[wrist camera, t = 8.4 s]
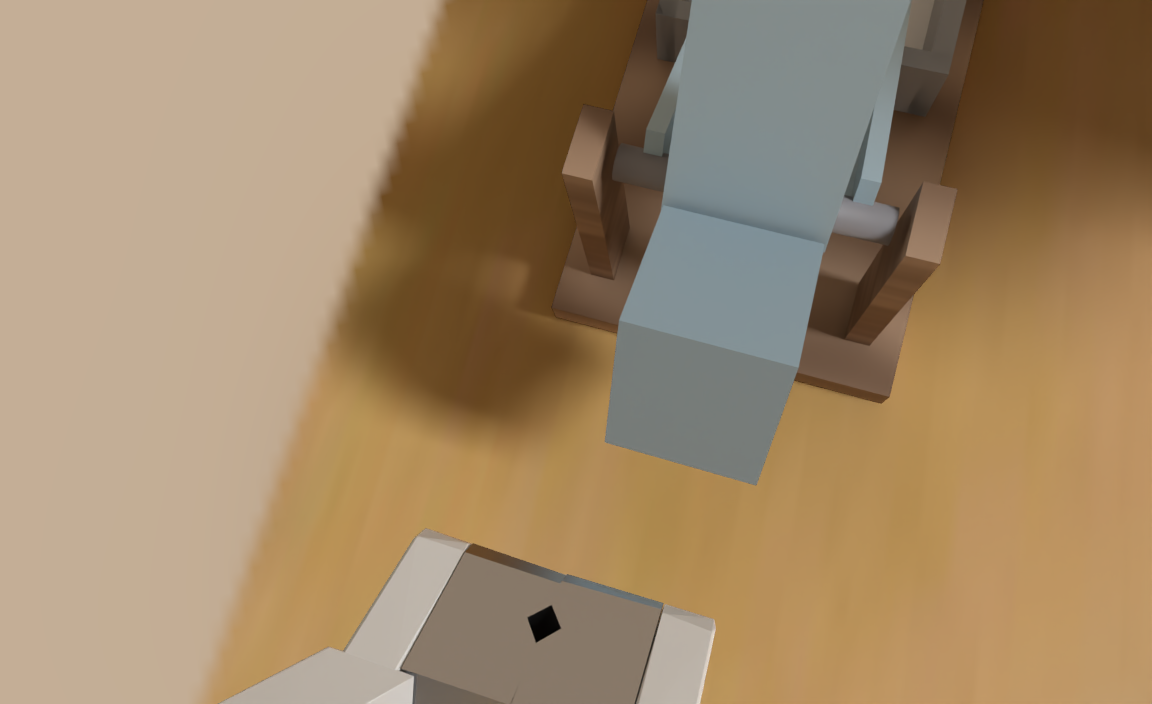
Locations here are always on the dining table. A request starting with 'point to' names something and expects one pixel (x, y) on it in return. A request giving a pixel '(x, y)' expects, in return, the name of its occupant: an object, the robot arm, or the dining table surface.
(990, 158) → the dining table surface
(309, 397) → the dining table surface
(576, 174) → the walnut lever base
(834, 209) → the tipping lever
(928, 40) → the bin
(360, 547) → the dining table surface
